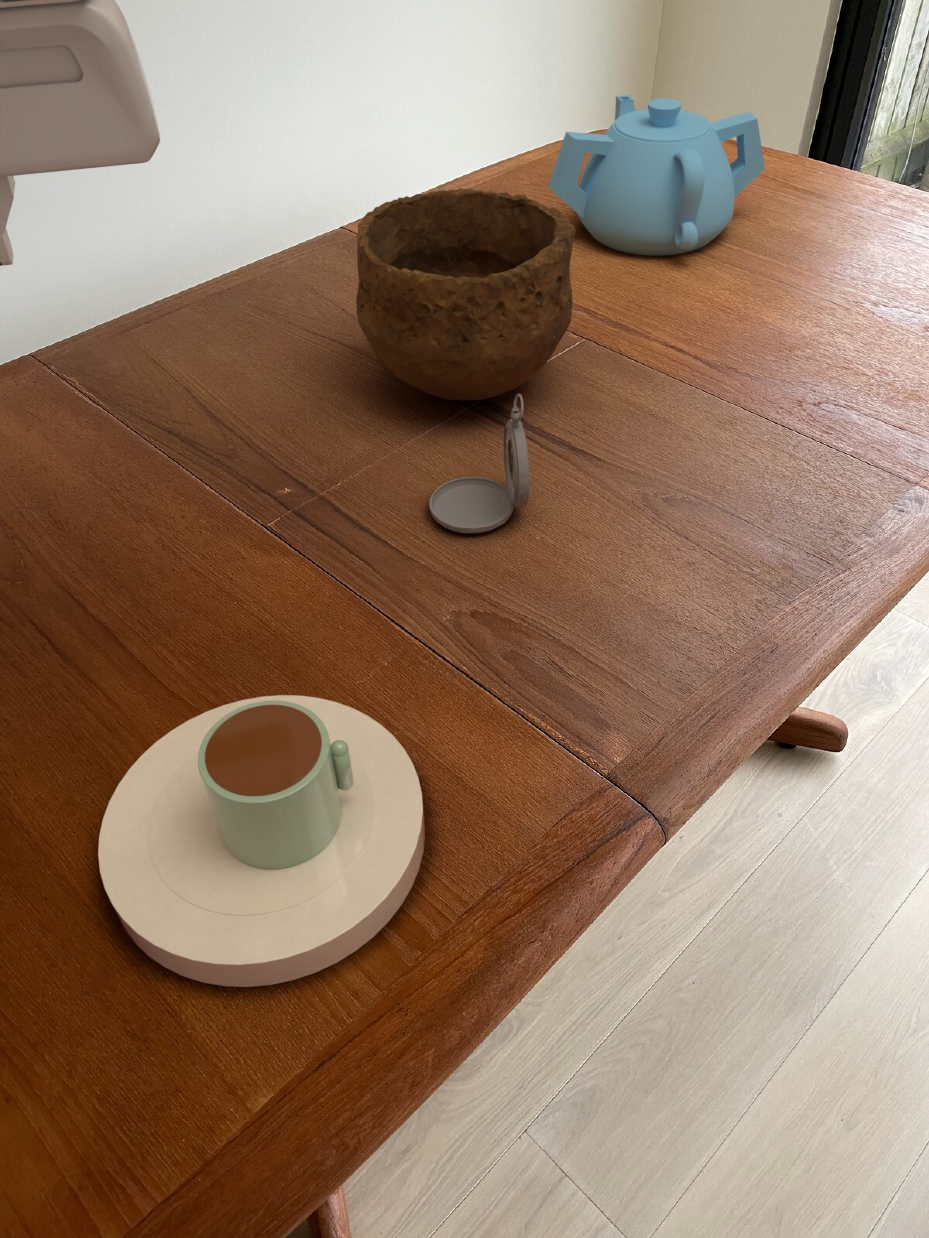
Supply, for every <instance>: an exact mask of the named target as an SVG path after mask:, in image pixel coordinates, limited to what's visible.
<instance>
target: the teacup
mask: <svg viewBox="0 0 929 1238" xmlns="http://www.w3.org/2000/svg"><path fill="white" fill-rule="evenodd" d="M198 768H199V773H200V776H201V779H202V782H203V785H204V788H205V791H206V794H207V797H208V800H209V803H210V806H211V809H212V812H213V815H214V818H215V820H216V823H217V826H218V829H219V832H220V835H221V838H222V841H223V843H224V845H225V847H226V848H227V850H228V851H229V852H230V853H231V854H232V855H233V856H234V857H235V858H237V859H238V860H240V861H241V862H243V863H245V864H248V865H250V866H253V867H257V868H262V869H282V868H288V867H292V866H295V865H298V864H301V863H303V862H305V861H307V860H309V859H311V858H313V857H314V856H315V855H317V854H318V853H320V852H321V851H322V850H323V849H324V848H325V847H326V846H327V845H328V844H329V843H330V842H331V840H332V839H333V837H334V836H335V834H336V832H337V830H338V828H339V825H340V822H341V817H342V805H341V799H340V794H339V789H340V790H343V791H346V790H349V789H350V788H351V787H352V786H353V784H354V779H353V773H352V767H351V761H350V755H349V749H348V745H347V744H346V742H344V741H342V740H336V741H334V742H333V743H332V744H331V745H330V739H329V735H328V732H327V729H326V727H325V725H324V723H323V722H322V721H321V719H320V718H319V717H318V716H317V715H316V714H314V713H313V712H312V711H310V710H309V709H307V708H305V707H303V706H301V705H298V704H295V703H291V702H286V701H262V702H256V703H252V704H249V705H246V706H243V707H240V708H238V709H236V710H234V711H232V712H230V713H229V714H227V715H225V716H224V717H223V718H221V719H220V720H219V721H218V722H217V723H216V724H215V725H213V727H212V728H211V729H210V730H209V731H208V733H207V734H206V736H205V737H204V739H203V741H202V743H201V746H200V749H199V753H198Z"/></svg>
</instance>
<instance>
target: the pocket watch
mask: <svg viewBox="0 0 929 1238" xmlns="http://www.w3.org/2000/svg"><path fill="white" fill-rule="evenodd" d="M518 399H519V400H520V408H519V407H518V406H517V402H518ZM524 407H525V406H524V398H523V396H522V393H521V394H520V393H517V394H516V395H515V397H514V400H513V408H512V410H511V412H510V419H508V420H507V423H506V424H505V427H504V431H503V462H504V463H503V464H504V473H505V482H506V486H505V485H503V484H502V483H500V482H498V481H497V480H493V479H491V478H486V477H479V476H466V477H459V478H454V479H451V480H449V481H446V482H444V483H443V484H441V485H439V486H438V487H436V489H434V491H433V492H432V494H431V495H430V497H429V502H428V503H429V505H428V507H429V512H430V514H431V517H432V518H433V519H434V521H435V522H436V523H437V524H439V525H440V526H442V527H444V529H446V530H450V531H452V532H455V533H461V534H480V533H486V532H490V531H493V530H494V529H496V528H499V527H501V526H503V525H504V524H505V523H506V522H507V521H508V520H509V519H510V517H511V516H512V514H513V512H514V508H522V507H524V506H527V505H528V502H529V496H530V485H531V483H530V460H529V451H528V450H529V449H528V443H527V437H526V432H525V430H524V425H523V423H522V421H521V419H522V418H523V416H524V409H525V408H524Z"/></svg>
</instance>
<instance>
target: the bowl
mask: <svg viewBox="0 0 929 1238" xmlns="http://www.w3.org/2000/svg"><path fill="white" fill-rule="evenodd" d="M373 208H374V209H372V211H368V212H367V213H366V214H365V215H364V216H363V217H362V219H361V220H359V222H358V224H357V234H356V245H357V251H356V252H357V257H356V258H357V259H356V265H357V266H356V267H357V275H358V288H357V293H356V317H357V320H358V325H359V327H360V329H361V331H362V332H363V335H364V336H365V338H366V340H367V342H368V345H370V348H371V349H372V350H373V352H374V354H375V355H376V357H377V359H378V360H379V362H380V363H381V365H383V367H384V368H385V369H386V370H388V371H389V372H390V373H392V374H393V375H394V376H396V377H397V378H398V379H400V380H401V381H403V382H404V383H406V384H407V385H409V386H411V387H412V388H414V389H417V390H420V391H422V392H424V393H427V394H429V395H431V396H433V397H436V398H440V399H444V400H448V401H479V400H485V399H490V398H493V397H494V398H495V397H497V396H499V395H502V394H505V393H508V392H510V391H513V390H514V389H516V388H519V387H520V386H521V385H523V384H524V383H526V382H527V381H528V380H530V379H532V377H534V376H535V375H536V374H537V373H538V372H540V371H541V369H542V368H544V367H545V365H547V363H549V360H550V359H551V357H552V356H553V354H554V352H555V351H556V349H557V347H558V345H559V343H560V342H561V340H562V339H563V337H564V336H565V333H566V332H567V330H568V328H569V326H570V324H571V321H572V317H573V316H572V315H573V304H574V303H573V289H572V284H571V272H570V271H571V259H572V252H573V245H574V244H573V242H574V237H575V236H576V234H577V230H576V227H575V225H574V224H572V223H571V220H570V218H569V217H566V215H564V214H563V213H562V211H561V210H558V209H557V208H556V207H548V206H546V205H545V204H543V203H540V201H538V200H536V199H532V198H528V197H527V196H526V194H521V193H519V194H515V195H511V194H509V193H508V192H498V193H497V192H494V191H491V190H490V191H484V190H482V189H477V190H475V189H471V188H458V189H450V190H444V189H441V190H436V191H434V190H433V191H432V190H431V191H429V192H427V193H416V194H414V195H412V196H409V195H406V196H404V197H398V198H397V199H392V200H391V201H386V202H383V203H381V204H380V205H378V206H375V207H373Z"/></svg>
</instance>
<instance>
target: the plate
mask: <svg viewBox="0 0 929 1238" xmlns="http://www.w3.org/2000/svg"><path fill="white" fill-rule="evenodd" d="M262 701H286V702H291V703H295V704H298V705H301V706H303V707H305V708H307V709H309V710H310V711H312V712H313V713H314V714H316V715H317V716H318V717H319V718H320V719H321V721H322V722H323V723H324V725H325V727H326V729H327V732H328V735H329V739H330V745H331V744H332V743H333V742H334V741H336V740H342V741H344V742H346V744H347V745H348V749H349V755H350V761H351V767H352V773H353V779H354V784H353V786H352V787H351V788H350V789H349V790H346V791H343V790H340V789H339V794H340V799H341V805H342V817H341V822H340V825H339V828H338V830H337V832H336V834H335V836H334V837H333V839H332V840H331V842H330V843H329V844H328V845H327V846H326V847H325V848H324V849H323V850H322V851H321V852H320V853H318V854H317V855H315V856H314V857H313V858H311V859H309V860H307V861H305V862H303V863H301V864H298V865H295V866H292V867H288V868H282V869H262V868H257V867H253V866H250V865H248V864H245V863H243V862H241V861H240V860H238V859H237V858H235V857H234V856H233V855H232V854H231V853H230V852H229V851H228V850H227V848H226V847H225V845H224V843H223V841H222V838H221V835H220V832H219V829H218V826H217V823H216V820H215V818H214V815H213V812H212V809H211V806H210V803H209V800H208V797H207V794H206V791H205V788H204V785H203V782H202V779H201V776H200V773H199V768H198V753H199V749H200V746H201V743H202V741H203V739H204V737H205V736H206V734H207V733H208V731H209V730H210V729H211V728H212V727H213V725H215V724H216V723H217V722H218V721H219V720H220V719H221V718H223V717H224V716H225V715H227V714H229V713H230V712H232V711H234V710H236V709H238V708H240V707H243V706H246V705H249V704H252V703H256V702H262ZM423 801H424V799H423V792H422V788H421V783H420V779H419V776H418V773H417V771H416V768H415V766H414V763H413V761H412V759H411V758H410V756H409V754H408V753H407V751H406V749H405V748H404V747H403V746H402V744H401V743H400V742H399V741H398V739H397V738H396V737H395V736H394V735H393V734H392V732H390V731H389V730H388V729H386V728H385V726H383V725H382V724H381V723H379V722H378V721H376V720H375V719H374V718H372V717H370V716H369V715H367V714H365V713H364V712H361V711H360V710H357V709H356V708H353V707H351V706H349V705H345V704H343V703H340V702H337V701H335V700H330V699H326V698H325V699H324V698H321V697H314V696H306V695H293V694H291V695H289V694H279V695H265V696H264V695H263V696H257V697H252V698H246V699H241V700H238V701H233V702H230V703H227V704H223V705H220V706H217V707H215V708H213V709H209V710H207V711H205V712H202V713H200V714H199V715H196V716H194V717H192V718H189V719H188V720H186V721H184V722H183V723H181V724H180V725H178V726H177V727H175V728H174V729H172V730H170V731H169V732H168V733H166V734H165V735H164V736H161V738H159V739H158V740H157V741H155V742H154V743H153V744H152V745H151V746H150V747H149V748H148V749H147V750H146V751H144V752H143V753H142V754H141V755H140V756H139V757H138V758H137V760H136V761H135V762H134V763H133V764H132V765H131V767H130V768H128V770H127V771H126V773H125V774H124V776H123V777H122V779H121V780H120V782H118V785H117V786H116V788H115V790H114V792H113V793H112V795H111V798H110V800H109V801H108V804H107V807H106V809H105V812H104V815H103V818H102V821H101V826H100V831H99V835H98V847H97V849H98V850H97V856H98V868H99V874H100V877H101V880H102V884H103V889H104V891H105V893H106V894H107V897H108V899H109V901H110V904H111V905H112V907H113V909H114V911H115V913H116V915H117V917H118V919H119V921H120V923H121V925H122V927H123V929H124V930H125V931H126V933H127V935H128V936H129V938H131V940H132V941H133V943H134V944H135V945H136V946H137V947H138V948H139V949H140V950H141V951H143V952H144V953H145V955H147V957H148V958H151V960H153V961H155V962H156V963H158V964H159V965H161V966H162V967H164V968H166V969H167V970H169V971H171V972H173V973H175V974H178V975H179V976H181V977H184V978H187V979H191V980H193V981H197V982H200V983H203V984H208V985H214V986H215V985H216V986H220V987H221V986H222V987H232V988H233V987H238V988H252V987H263V986H264V987H265V986H272V985H277V984H282V983H286V982H293V981H295V980H298V979H301V978H304V977H307V976H310V975H313V974H316V973H318V972H320V971H322V970H324V969H327V968H329V967H331V966H333V965H335V964H337V963H339V962H340V961H342V960H344V959H345V958H347V957H349V956H350V955H352V954H353V953H355V952H357V951H358V950H359V949H360V948H361V947H363V946H364V945H365V944H367V943H368V942H369V941H370V940H371V939H373V938H374V937H375V936H376V935H377V934H378V933H379V932H380V931H381V930H382V929H383V928H384V927H385V926H386V925H387V924H388V923H389V922H390V921H391V919H392V918H393V916H395V914H396V913H397V911H398V910H399V909H400V907H401V906H402V905H403V904H404V901H405V900H406V899H407V896H408V895H409V893H410V892H411V889H412V888H413V885H414V883H415V880H416V878H417V875H418V873H419V871H420V867H421V863H422V859H423V856H424V850H425V841H426V827H425V825H426V824H425V814H424V813H425V812H424V802H423Z"/></svg>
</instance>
